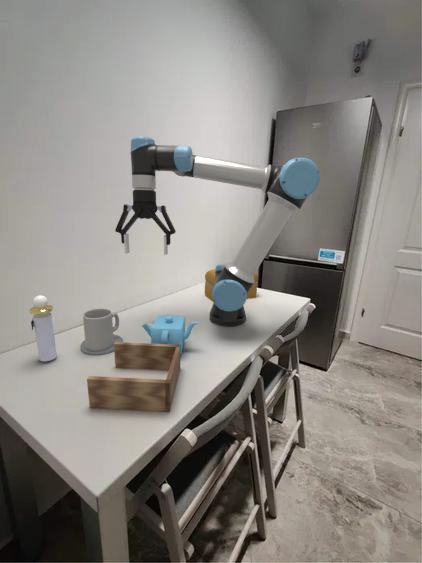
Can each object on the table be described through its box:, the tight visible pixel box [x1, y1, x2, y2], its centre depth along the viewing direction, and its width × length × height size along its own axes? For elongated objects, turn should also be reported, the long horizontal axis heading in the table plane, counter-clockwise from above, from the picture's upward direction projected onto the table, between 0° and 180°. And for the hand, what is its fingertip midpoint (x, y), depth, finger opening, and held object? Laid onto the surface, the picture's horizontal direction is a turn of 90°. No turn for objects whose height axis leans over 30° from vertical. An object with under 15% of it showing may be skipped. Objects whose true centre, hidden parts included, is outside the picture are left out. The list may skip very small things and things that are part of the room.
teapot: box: [141, 314, 200, 356], centre depth 89 cm, size 16×18×11 cm
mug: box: [82, 308, 120, 351], centre depth 90 cm, size 12×8×11 cm
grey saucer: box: [79, 333, 124, 356], centre depth 91 cm, size 13×13×1 cm
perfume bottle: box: [28, 294, 58, 362], centre depth 80 cm, size 6×6×20 cm
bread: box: [204, 268, 259, 303], centre depth 143 cm, size 24×13×15 cm, turn 115°
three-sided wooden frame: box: [86, 341, 181, 413], centre depth 71 cm, size 18×17×8 cm
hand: (146, 253), depth 97 cm, fingers open, 13 cm apart
